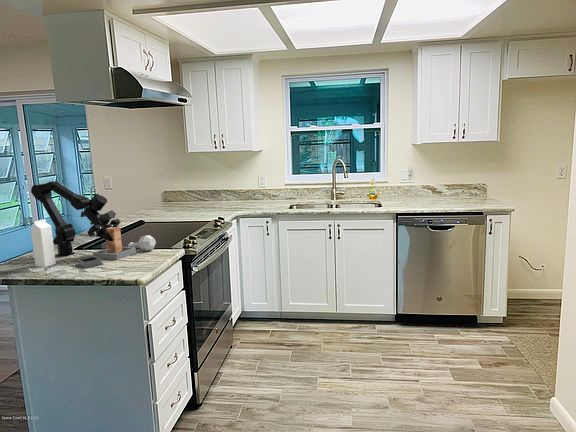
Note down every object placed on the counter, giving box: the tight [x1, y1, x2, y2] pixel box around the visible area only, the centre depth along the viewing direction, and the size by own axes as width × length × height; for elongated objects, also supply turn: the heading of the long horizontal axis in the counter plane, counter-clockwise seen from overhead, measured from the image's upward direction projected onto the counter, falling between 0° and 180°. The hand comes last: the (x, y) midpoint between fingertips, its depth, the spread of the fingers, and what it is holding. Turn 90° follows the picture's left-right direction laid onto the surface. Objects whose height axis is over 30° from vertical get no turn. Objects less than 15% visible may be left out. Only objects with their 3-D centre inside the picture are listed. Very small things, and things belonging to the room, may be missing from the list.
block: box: [105, 226, 123, 253], centre depth 214 cm, size 5×5×12 cm
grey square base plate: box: [74, 256, 105, 270], centre depth 199 cm, size 10×10×3 cm
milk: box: [30, 218, 57, 268], centre depth 200 cm, size 6×6×22 cm
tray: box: [92, 246, 137, 261], centre depth 215 cm, size 14×14×4 cm
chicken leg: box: [127, 235, 157, 252], centre depth 229 cm, size 8×18×8 cm, turn 62°
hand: (116, 239), depth 213 cm, fingers closed on block, 5 cm apart
